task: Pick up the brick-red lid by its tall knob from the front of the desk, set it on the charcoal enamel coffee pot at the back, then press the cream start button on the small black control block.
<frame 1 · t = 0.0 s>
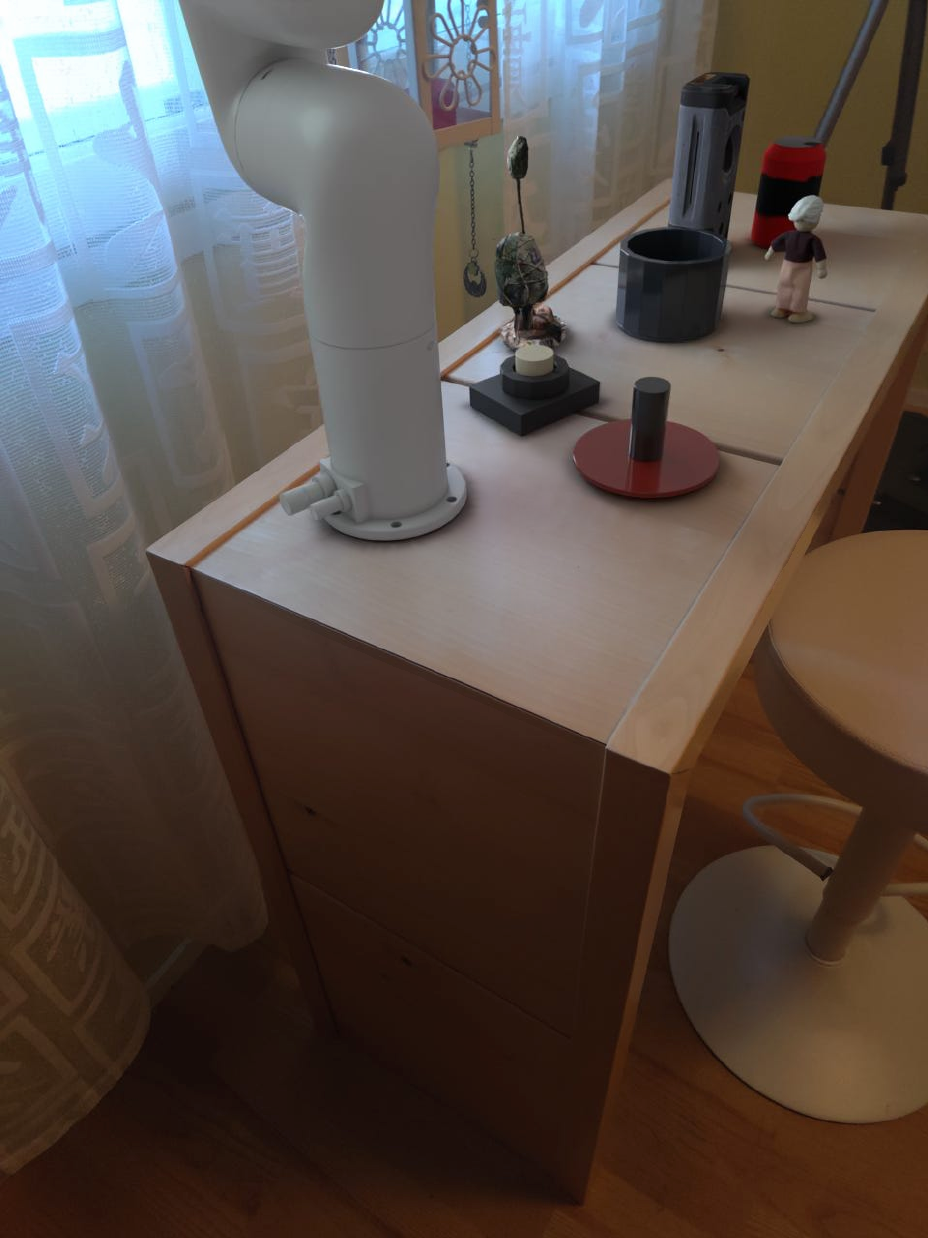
control block: (534, 404, 88), on the table
pot: (666, 321, 101), on the table
plant with pod: (529, 342, 99), on the table
lid: (645, 458, 78), point 1 cm above the table
start button: (534, 361, 85), point 4 cm above the table, slide at 0.1 cm
electronic device: (695, 257, 116), on the table
soda can: (779, 242, 119), on the table
grandmother figurine: (786, 316, 101), on the table
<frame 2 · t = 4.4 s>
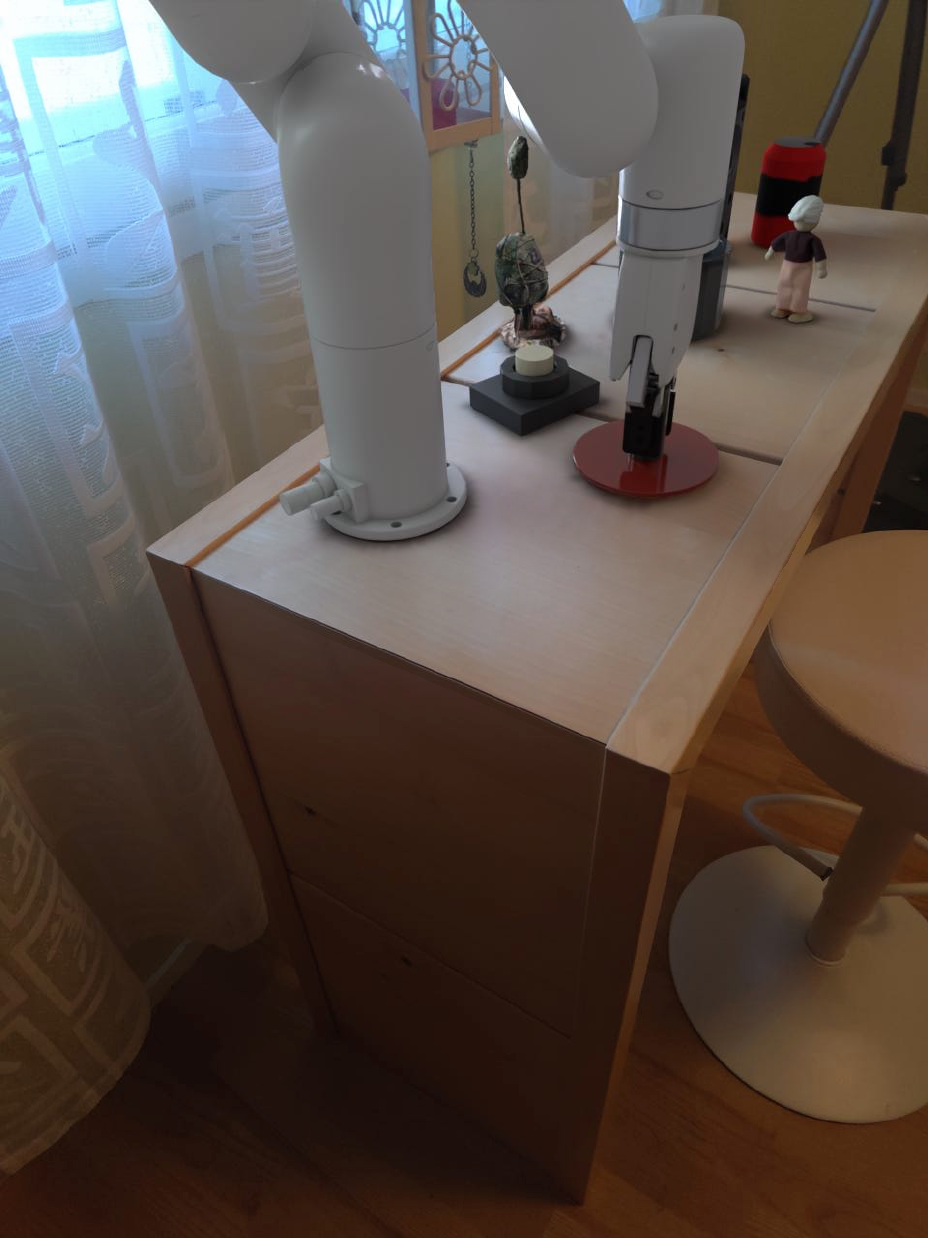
hand: (646, 440, 77), 2 cm above the table, tool pointing down, fingers closed on lid, 3 cm apart
lid: (645, 458, 78), point 1 cm above the table, touching gripper
everything else where it was.
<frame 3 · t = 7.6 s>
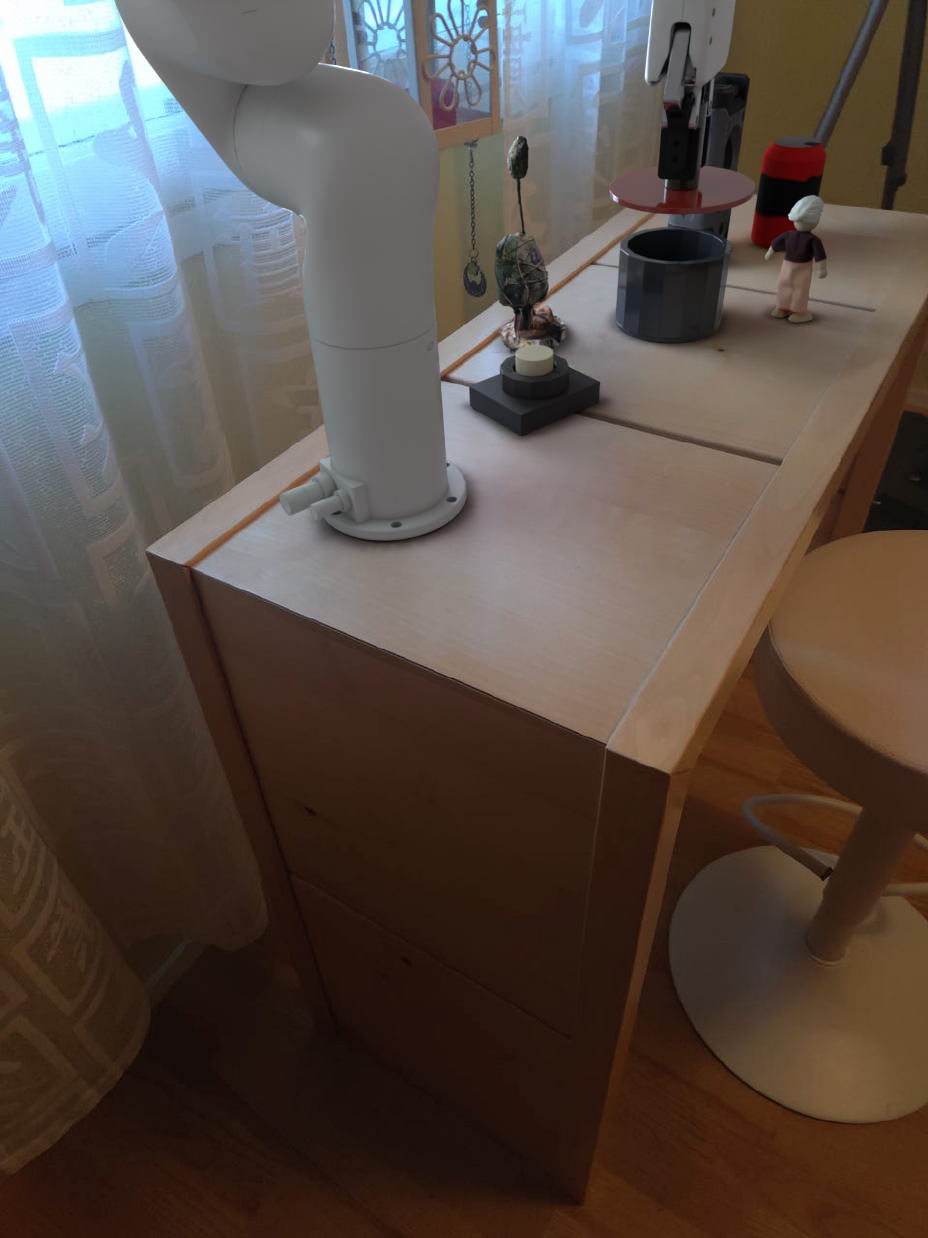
hand: (681, 170, 77), 20 cm above the table, tool pointing down, fingers closed on lid, 3 cm apart
lid: (680, 191, 79), point 18 cm above the table, touching gripper
everything else where it was.
when the fingers open (10 cm above the table, at t = 11.1 s): lid stays where it is, resting on pot.
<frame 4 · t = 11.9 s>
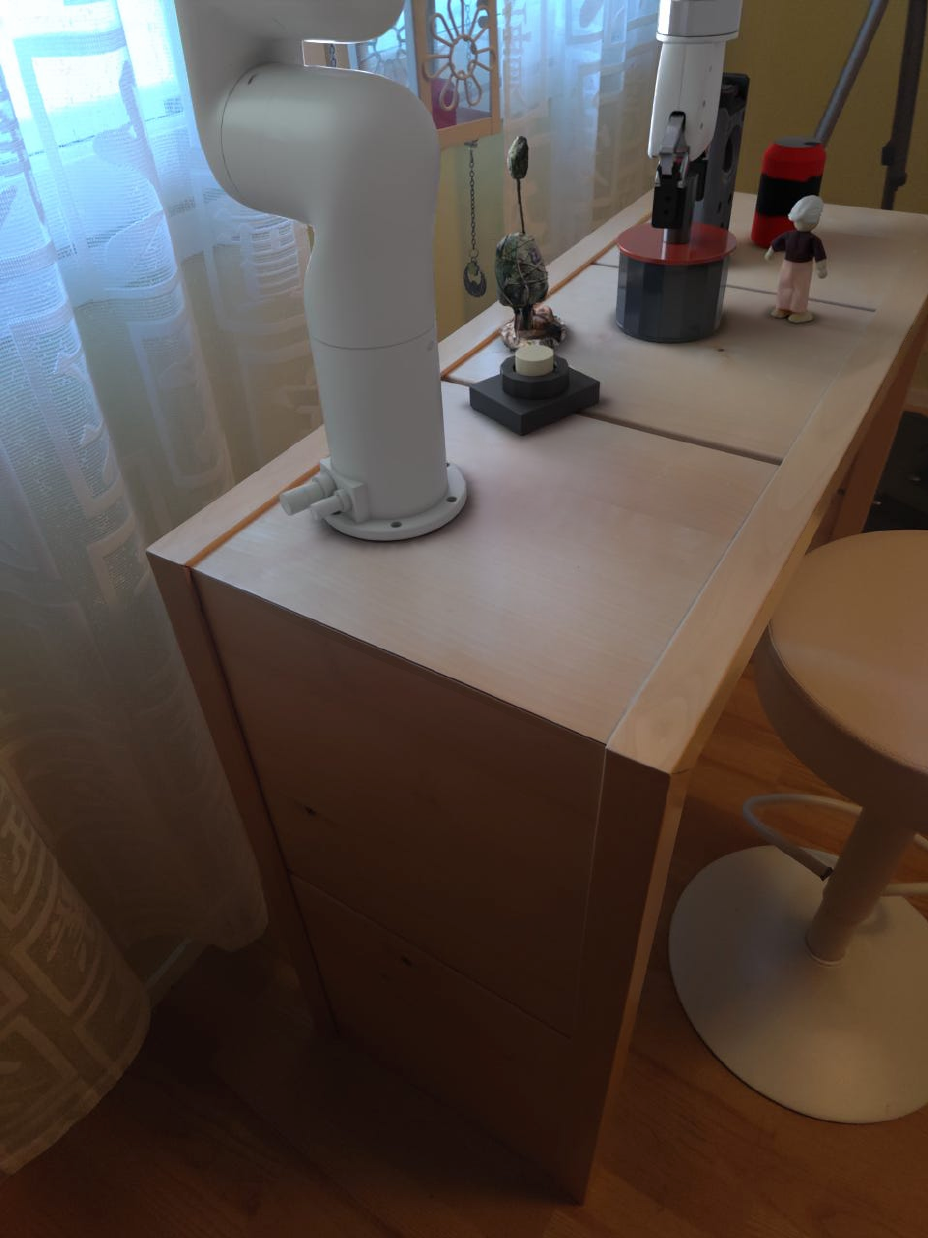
hand: (677, 213, 93), 12 cm above the table, tool pointing down, fingers open, 9 cm apart
lid: (676, 244, 95), point 8 cm above the table, touching pot
everything else where it was.
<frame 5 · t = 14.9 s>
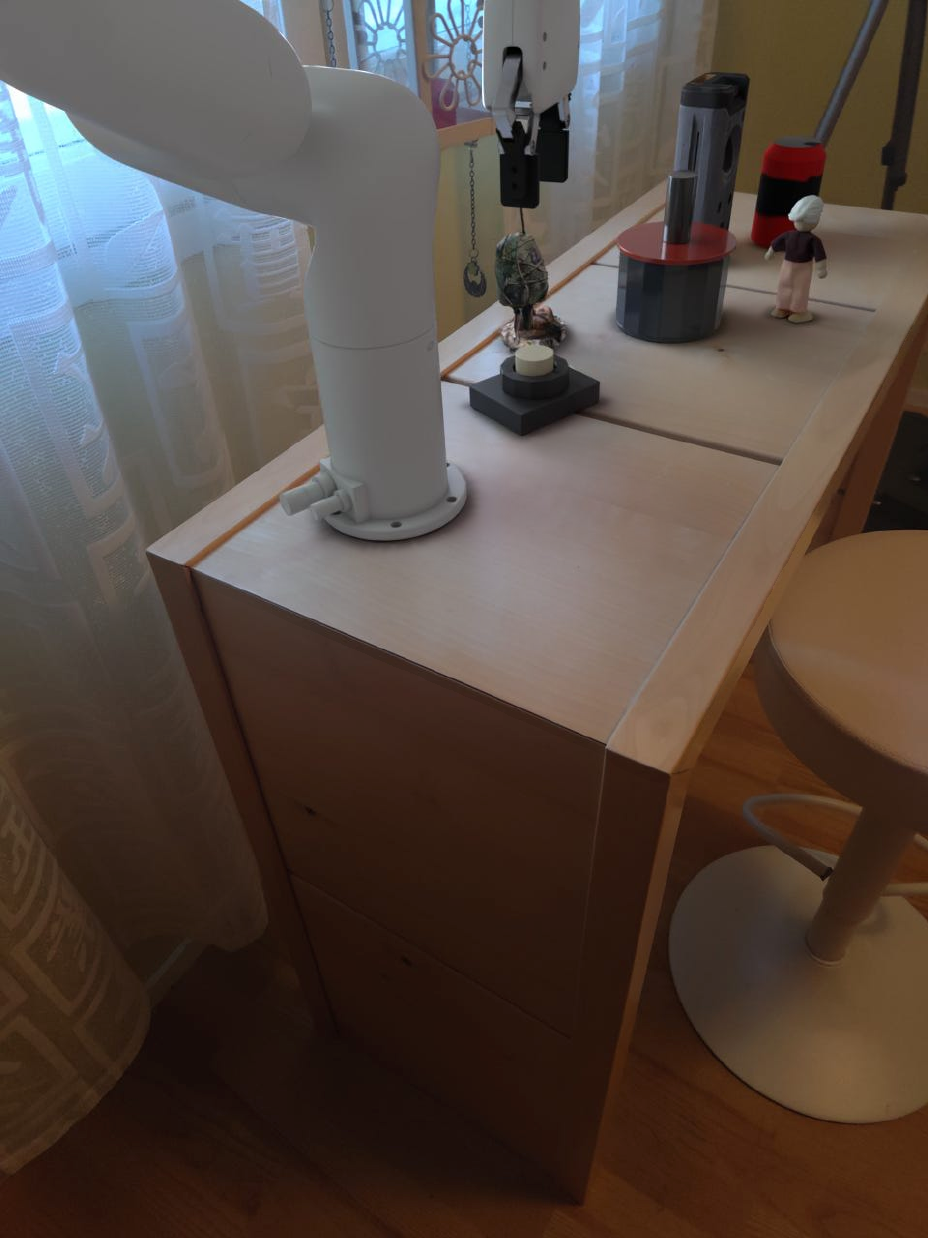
hand: (535, 191, 75), 20 cm above the table, tool pointing down, fingers open, 6 cm apart
nothing on the table moved.
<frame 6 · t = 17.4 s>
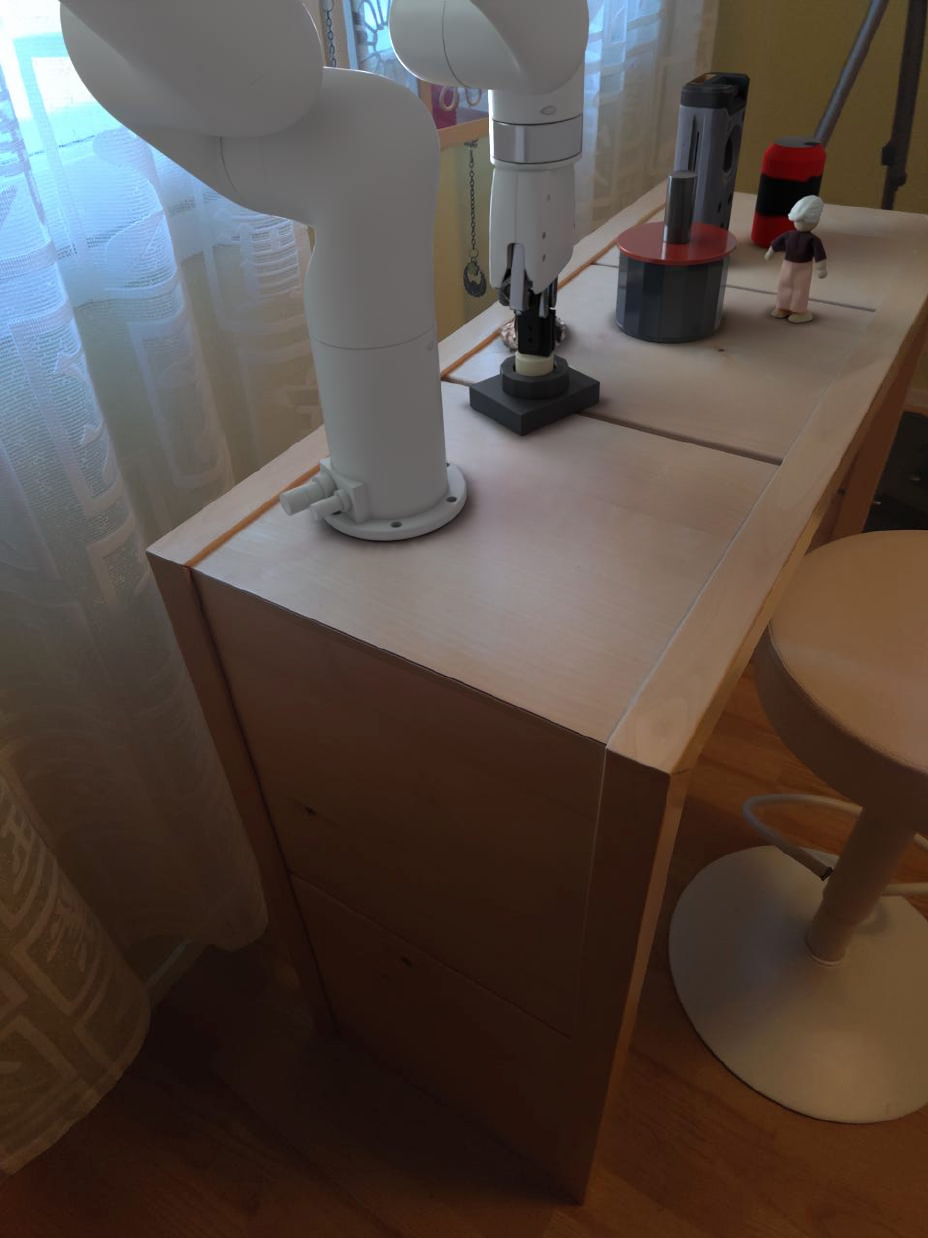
hand: (536, 351, 84), 5 cm above the table, tool pointing down, fingers closed
start button: (534, 361, 85), point 4 cm above the table, slide at 0.0 cm, touching gripper
everything else where it was.
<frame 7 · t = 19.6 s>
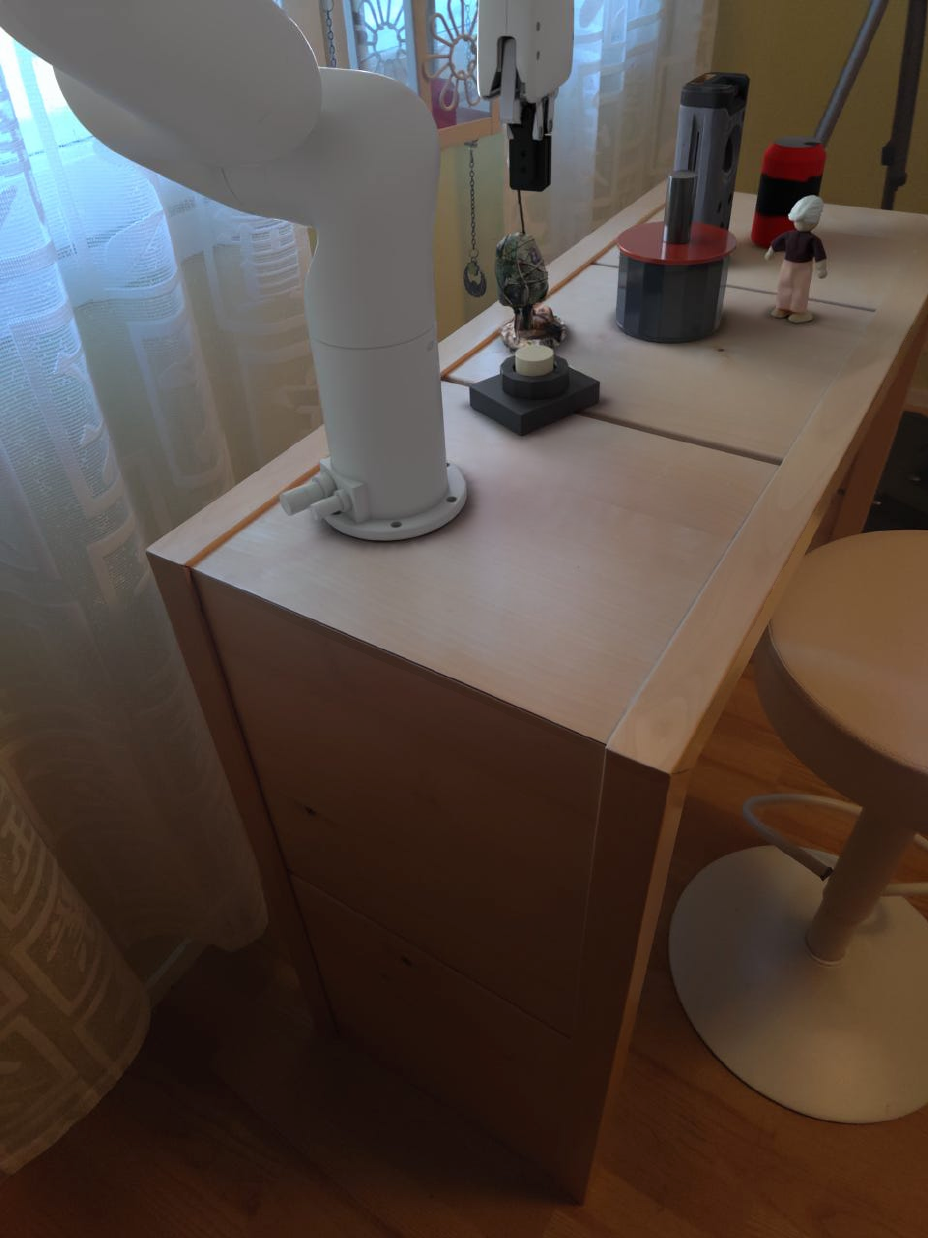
hand: (530, 187, 76), 19 cm above the table, tool pointing down, fingers closed
start button: (534, 361, 85), point 4 cm above the table, slide at 0.1 cm
everything else where it was.
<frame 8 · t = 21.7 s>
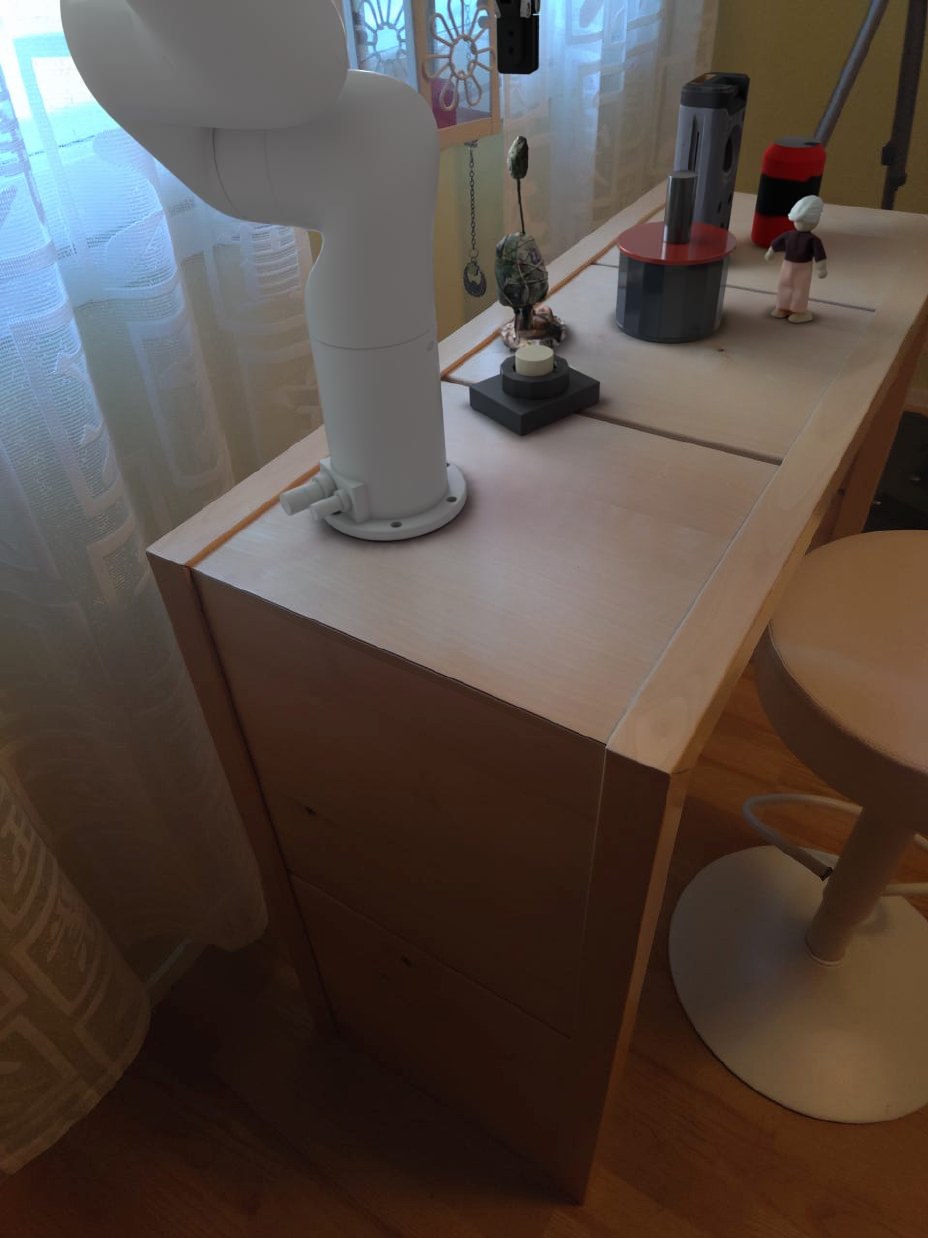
hand: (518, 71, 76), 27 cm above the table, tool pointing down, fingers closed
nothing on the table moved.
at the end: lid 0.1 cm off-centre on the pot, point 8.5 cm above the pot's base; lid tilted 0°; start button pushed in 1.0 cm at the most during the clip, back to where it started at the end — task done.
